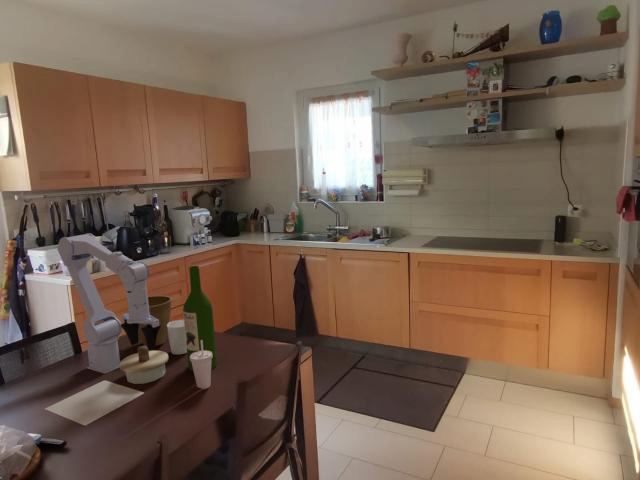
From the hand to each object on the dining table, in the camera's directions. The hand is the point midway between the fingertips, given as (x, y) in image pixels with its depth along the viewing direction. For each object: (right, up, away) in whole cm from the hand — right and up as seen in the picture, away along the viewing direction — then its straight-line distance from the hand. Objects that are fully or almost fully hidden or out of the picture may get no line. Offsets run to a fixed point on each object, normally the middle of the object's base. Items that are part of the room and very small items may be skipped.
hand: (143, 346), depth 138 cm
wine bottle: (+16, -8, +7) cm, 20 cm away
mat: (-8, -13, -13) cm, 20 cm away
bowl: (0, -10, +2) cm, 10 cm away
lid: (0, -5, +1) cm, 5 cm away
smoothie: (+20, -10, -6) cm, 23 cm away
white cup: (+6, -7, +20) cm, 22 cm away
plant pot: (-7, -6, +29) cm, 30 cm away
